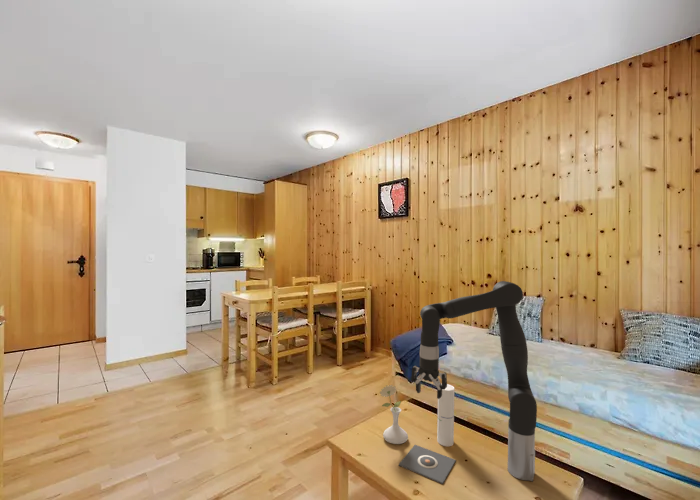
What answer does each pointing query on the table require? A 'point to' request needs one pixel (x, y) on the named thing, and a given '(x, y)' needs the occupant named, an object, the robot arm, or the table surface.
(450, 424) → the cylindrical container
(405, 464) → the pad
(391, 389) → the flower in vase
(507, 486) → the table surface
